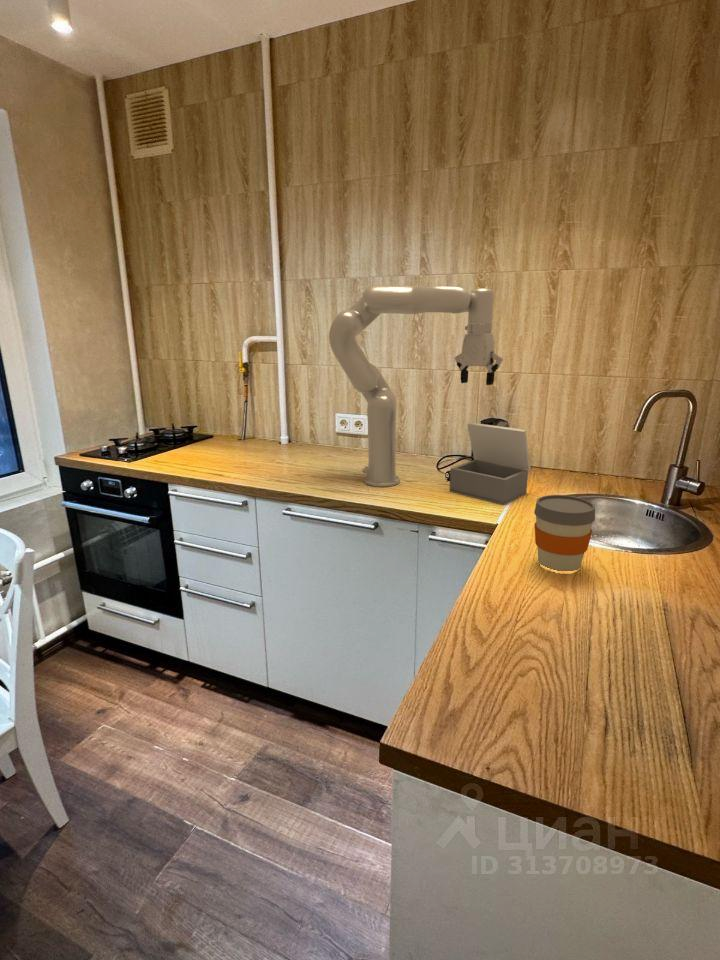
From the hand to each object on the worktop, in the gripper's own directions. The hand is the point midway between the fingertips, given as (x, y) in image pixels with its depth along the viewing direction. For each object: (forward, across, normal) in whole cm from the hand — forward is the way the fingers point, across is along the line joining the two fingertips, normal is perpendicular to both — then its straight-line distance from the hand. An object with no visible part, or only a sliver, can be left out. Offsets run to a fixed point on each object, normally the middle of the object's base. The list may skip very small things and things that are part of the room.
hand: (476, 383), depth 169 cm
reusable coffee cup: (+34, +50, -41) cm, 73 cm away
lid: (+19, +10, -1) cm, 22 cm away
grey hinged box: (+34, +10, -6) cm, 36 cm away
